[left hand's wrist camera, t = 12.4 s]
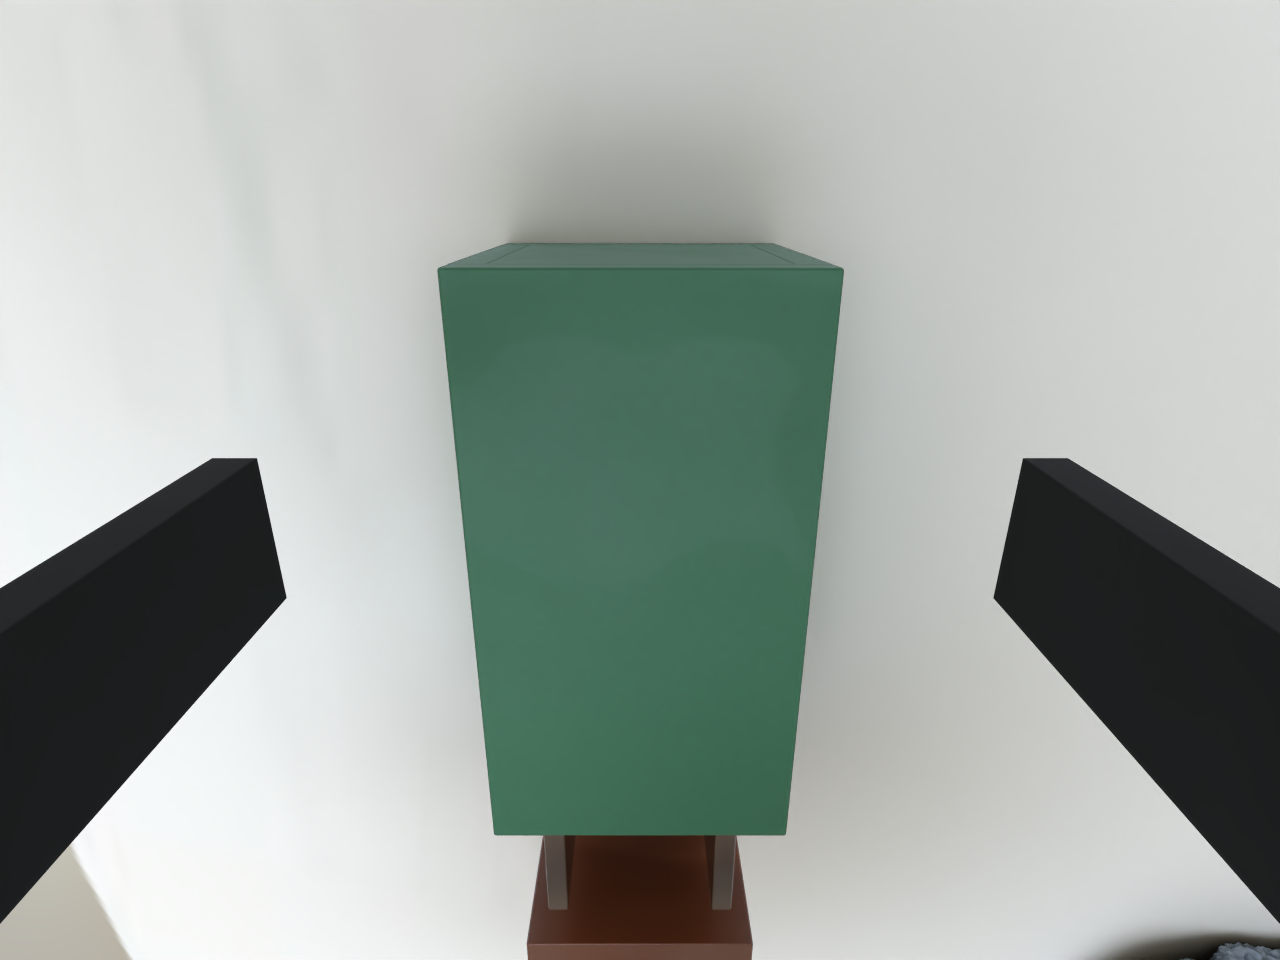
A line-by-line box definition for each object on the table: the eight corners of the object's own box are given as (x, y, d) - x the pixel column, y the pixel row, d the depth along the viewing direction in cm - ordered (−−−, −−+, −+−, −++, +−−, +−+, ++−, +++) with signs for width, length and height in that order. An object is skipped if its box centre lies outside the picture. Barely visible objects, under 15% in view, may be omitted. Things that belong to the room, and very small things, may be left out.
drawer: (723, 886, 39) (743, 1051, 31) (555, 886, 39) (535, 1051, 31) (749, 482, 30) (785, 577, 22) (531, 482, 30) (495, 577, 22)
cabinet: (746, 663, 34) (786, 836, 25) (533, 663, 34) (493, 836, 25) (774, 243, 27) (844, 267, 18) (505, 243, 27) (436, 267, 18)
